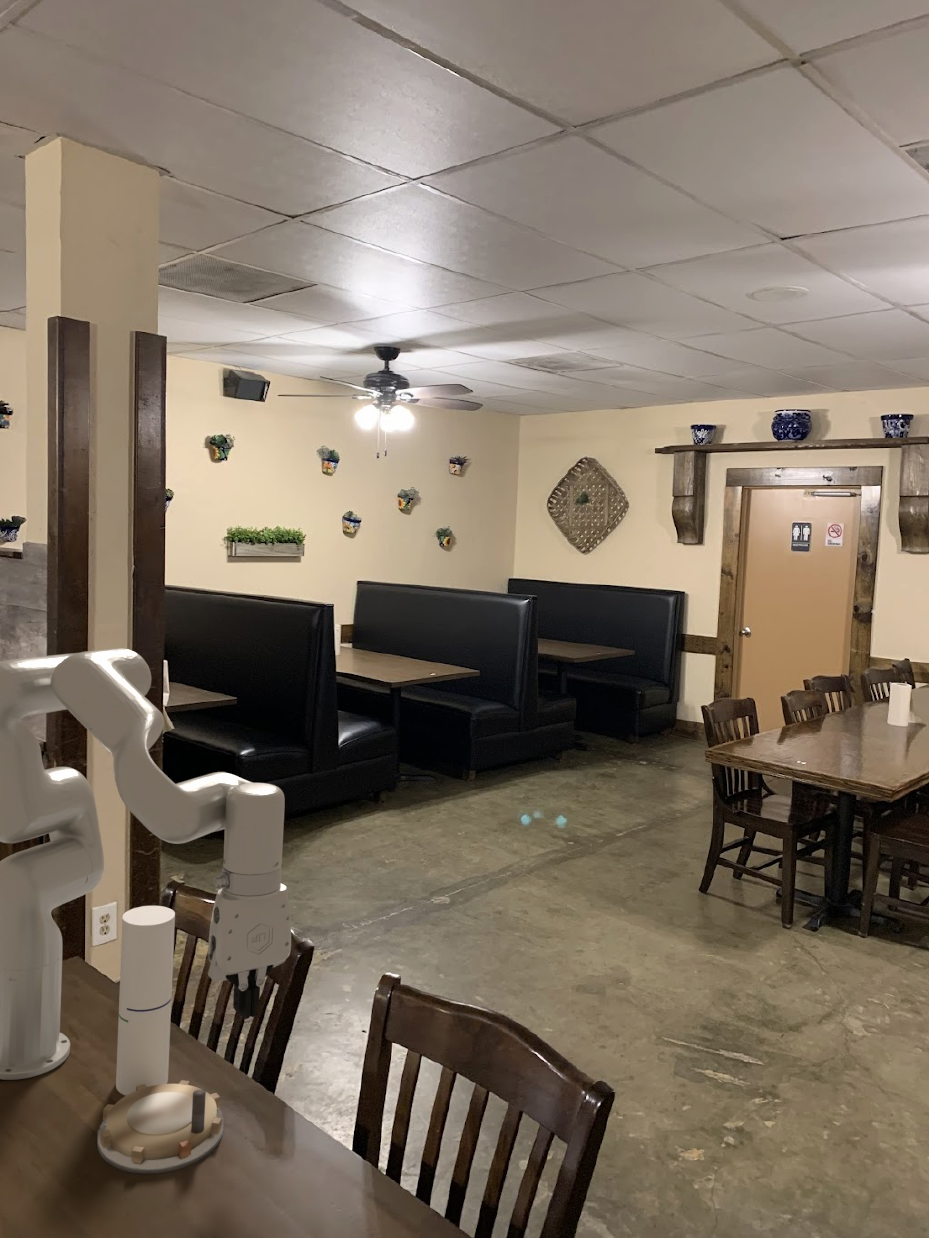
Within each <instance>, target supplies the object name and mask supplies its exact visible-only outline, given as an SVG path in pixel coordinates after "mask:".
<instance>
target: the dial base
mask: <svg viewBox="0 0 929 1238" xmlns="http://www.w3.org/2000/svg"><path fill="white" fill-rule="evenodd" d="M216 1117H217V1118H222V1125H221V1130H220V1132H219V1134H211V1135H210V1136H209V1137H208V1138H207V1139H206V1140H205V1141H203V1142H202V1143H201V1144H199V1145H198V1146H196V1147H195V1148H193V1149H191V1155H189V1156H186V1157H184V1158H181V1156H180V1155H179V1154H178V1155H174V1156H170V1157H165V1158H156V1159H143V1161H142V1162H141V1163H134V1162H131V1160H132V1157H131V1156H127V1155H125V1154H122V1153H120V1152H118V1151H117V1150H115V1149H114V1148H113V1147H112V1146H108V1147H105V1148H103V1147H102V1145H101V1144H100V1136H101V1132H102V1131H105V1130H106V1120H102V1122H101V1123H100V1126H99V1127H98V1131H97V1144H96V1145H97V1151H98V1153H99V1155H100V1156H101V1158H102V1159H103V1161H105V1163H107V1164H108V1165H110V1166H112V1167H113V1168H116V1169H118V1170H120V1171H124V1172H128V1173H132V1174H140V1175H141V1174H142V1175H146V1174H147V1175H152V1174H162V1173H163V1174H164V1173H168V1172H173V1171H177V1170H180V1169H183V1168H186V1167H189V1166H190V1165H191V1166H192V1165H193V1164H195V1163H197V1162H199V1161H200V1160H202V1159H204V1158H205V1157H207V1156H208V1155H209V1154H210V1153H211V1152H213V1151H214V1149H216V1148H217V1147H218V1144H219V1143H221V1140H222V1137H223V1135H224V1126H225V1123H224V1122H225V1118H224V1114H223V1112H222V1110H221V1109H220V1107H218V1108H217V1116H216Z"/></svg>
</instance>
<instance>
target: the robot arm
mask: <svg viewBox="0 0 929 1238" xmlns="http://www.w3.org/2000/svg"><path fill="white" fill-rule="evenodd" d="M151 686H152V673H151V670H150V667H149V665H148V664H147V662H146V661H145V659H144V658H143V657H142V656H141V655H140V654H139V653H137V652H136V651H134V650H131V649H129V648H124V647H122V648H121V647H120V648H118V647H117V648H107V649H99V650H98V649H97V650H89V651H82V652H81V651H80V652H74V653H72V652H71V653H63V654H52V655H51V654H50V655H44V656H43V655H41V656H31V657H28V656H27V657H21V658H20V657H18V658H11V659H6V660H1V661H0V842H1V843H4V844H16V843H21V842H24V841H25V842H26V841H28V840H32V839H35V838H38V837H41V836H45V835H47V834H48V835H49V839H50V840H49V841H48V842H45V843H43V844H38V845H35V846H32V847H29V848H27V849H24V850H21V851H17V852H15V853H12V854H10V855H9V856H6V857H5V858H3V859H2V860H0V1080H5V1081H6V1080H7V1081H9V1080H10V1081H11V1080H12V1081H13V1080H23V1079H29V1078H33V1077H36V1076H37V1077H38V1076H41V1075H43V1074H45V1073H49V1072H50V1071H53V1070H54V1069H55V1068H58V1067H59V1066H60V1065H62V1064H63V1063H64V1062H65V1061H66V1059H67V1058H68V1057H69V1055H70V1053H71V1041H70V1039H69V1038H68V1037H67V1036H66V1035H65V1034H64V1033H62V1032H61V1008H62V1007H61V1003H62V1002H61V1001H62V999H61V998H62V977H63V976H62V973H63V936H62V932H61V930H60V928H59V926H58V925H57V923H56V922H55V920H54V919H53V917H52V911H53V910H54V909H56V908H58V907H60V906H62V905H64V904H66V903H69V902H71V901H73V900H76V899H77V898H80V897H83V896H84V895H86V894H89V893H91V892H93V890H95V888H96V887H98V885H99V884H100V883H101V881H102V879H103V877H104V871H105V857H104V856H105V855H104V850H103V843H102V841H103V840H102V835H101V830H100V824H99V823H100V822H99V818H98V811H97V804H96V799H95V795H94V792H93V789H92V786H91V785H90V783H89V782H88V780H87V778H86V777H85V776H84V774H82V773H81V772H80V771H79V770H77V769H74V768H72V767H69V766H56V767H51V768H47V769H45V767H44V763H43V758H42V750H41V745H40V743H39V740H38V739H37V736H36V735H35V733H34V732H33V731H32V729H31V728H30V727H29V726H28V725H27V724H26V723H25V722H24V721H23V718H26V717H28V716H34V715H39V714H41V715H42V714H48V713H54V712H58V711H59V712H60V711H65V710H68V711H69V713H70V714H72V716H73V717H74V718H76V720H77V721H78V722H79V723H80V724H81V725H82V726H83V727H84V728H85V729H87V731H88V732H89V733H90V734H91V735H92V736H93V737H94V738H95V739H96V740H97V741H98V742H99V744H100V745H102V746H103V747H104V748H105V749H106V750H107V752H109V754H111V756H112V757H113V759H112V760H113V763H112V768H113V769H112V770H113V771H112V772H113V776H114V781H115V785H116V789H117V792H118V794H119V797H120V798H121V801H122V802H123V804H124V805H125V807H126V808H127V809H128V811H129V812H131V814H132V815H133V816H134V817H135V818H136V819H137V820H138V821H139V822H140V823H141V824H142V826H144V827H145V828H146V829H147V830H148V831H149V832H150V833H152V834H153V835H154V836H156V837H158V838H159V839H160V840H162V841H164V842H167V843H170V844H176V845H177V844H178V845H179V844H180V845H181V844H186V843H189V842H191V841H193V840H196V839H198V838H201V837H205V836H206V835H209V834H211V833H214V832H219V831H222V830H224V837H223V838H224V842H223V864H222V865H223V866H222V867H221V874H219V875H218V876H214V877H213V879H212V883H213V887H214V888H215V889H216V888H220V889H218V890H217V893H216V896H215V900H214V904H213V908H212V913H211V920H210V925H209V926H210V927H209V933H208V934H209V935H208V943H207V944H208V945H207V946H208V947H207V948H208V949H207V953H208V954H207V955H208V961H209V962H210V965H209V968H208V972H207V975H208V977H209V978H210V979H211V980H212V981H215V982H217V981H218V982H219V981H228V982H230V983H231V984H232V985H233V999H232V1000H233V1001H232V1002H233V1003H232V1007H233V1009H234V1011H235V1012H236V1013H238V1015H239V1016H241V1018H243V1019H244V1020H248V1019H250V1017H252V1018H255V1017H257V1016H258V1007H259V1005H260V997H261V996H260V995H261V994H260V993H261V987H262V986H263V985H264V984H265V980H266V979H265V978H266V977H267V976H268V975H269V973H270V972H271V971H272V969H273V968H276V967H277V966H280V965H281V964H284V963H285V962H286V961H287V959H288V957H289V956H290V954H291V951H292V949H291V948H292V924H291V920H292V919H291V909H290V908H291V907H290V900H289V895H288V889H287V886H286V885H285V884H283V883H282V864H283V863H282V862H283V847H284V846H283V844H284V843H283V842H284V827H285V826H284V823H285V794H284V792H283V790H282V789H281V788H280V787H279V786H276V785H275V784H271V783H266V782H252V781H249V780H247V779H244V778H242V777H239V776H238V775H235V774H232V773H230V772H229V773H228V772H226V771H217V772H212V773H207V774H204V775H200V776H197V777H194V778H191V779H188V780H184V781H181V782H177V783H175V782H174V781H173V780H172V779H171V778H169V777H168V775H167V774H165V773H164V772H163V771H162V770H161V768H160V767H159V766H158V765H157V764H156V763H155V761H154V760H153V759H152V756H151V754H150V751H149V750H150V749H151V748H152V747H153V746H154V744H155V743H156V742H157V741H158V739H159V738H160V736H161V735H162V732H163V729H164V726H165V718H164V715H163V713H162V712H161V711H160V710H159V708H158V707H156V705H154V704H153V703H152V702H151V701H150V700H149V699H148V698H147V697H145V696H147V694H148V692H149V690H150V689H151Z"/></svg>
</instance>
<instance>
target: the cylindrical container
mask: <svg viewBox="0 0 929 1238" xmlns="http://www.w3.org/2000/svg"><path fill="white" fill-rule="evenodd" d="M175 920H176V912H175V910H173V909H171V908H169V907H166V906H162V905H142V906H139V907H133V908H131V909H129V910H127V911H126V912H124V913H123V915H122V919H121V921H122V923H121V924H122V926H121V944H120V946H121V948H120V968H119V969H120V970H119V971H120V972H119V976H120V977H119V994H118V996H119V997H118V1000H119V1001H118V1023H117V1025H118V1026H117V1049H116V1072H115V1073H116V1074H115V1075H116V1078H115V1081H116V1082H115V1087H116V1091H118V1092H119V1093H120V1094H121V1095H123V1096H127V1095H128V1094H130V1093H132V1092H135V1091H136V1086H140V1085H143V1084H145V1085H146V1086H147V1087H149V1086H154V1085H160V1084H168V1082H169V1062H170V1061H169V1059H170V1042H171V1041H170V1040H171V1039H170V1038H171V1036H170V1035H171V1015H172V995H173V994H172V993H173V992H172V990H173V970H174V947H175V922H176V921H175Z"/></svg>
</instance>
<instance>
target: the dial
mask: <svg viewBox="0 0 929 1238" xmlns="http://www.w3.org/2000/svg"><path fill="white" fill-rule="evenodd" d="M220 1103H221V1097H220V1095H219V1094H218V1092H213V1093H209V1092H207V1091H206V1090H205V1089H202V1088H199V1087H197V1086H194V1085H191V1084H190V1080H184V1079H181V1080H180V1081H179V1082H178V1083H167V1084H160V1085H154V1086H149V1087H147V1086H146V1085H145V1084H143V1085H140V1086H136V1091H135V1092H132V1093H130V1094H128V1095H127V1096H126V1095H124V1096H123V1097H122V1098H120V1099H119V1100H118V1101H117V1102H115V1104H109V1103H107V1104H106V1105H105V1106H104V1107H103V1110H102V1111H103V1112H102V1121H104V1120H106V1130H105V1131H102V1132H101V1136H100V1144H101V1145H102V1147H103V1148H105V1147H108V1146H112V1147H113V1148H114V1149H115V1150H117V1151H118V1152H120V1153H122V1154H125V1155H127V1156H131V1157H132V1160H131V1162H134V1163H141V1162H142V1161H143V1159H156V1158H165V1157H170V1156H174V1155H178V1154H179V1155H180V1156H181V1158H184V1157H186V1156H189V1155H191V1149H193V1148H195V1147H196V1146H198V1145H199V1144H201V1143H202V1142H203V1141H205V1140H206V1139H207V1138H208V1137H209V1136H210V1135H211V1134H219V1132H220V1130H221V1125H222V1118H217V1117H216V1116H217V1108H218V1107H219V1108H220V1106H221V1105H220Z"/></svg>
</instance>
